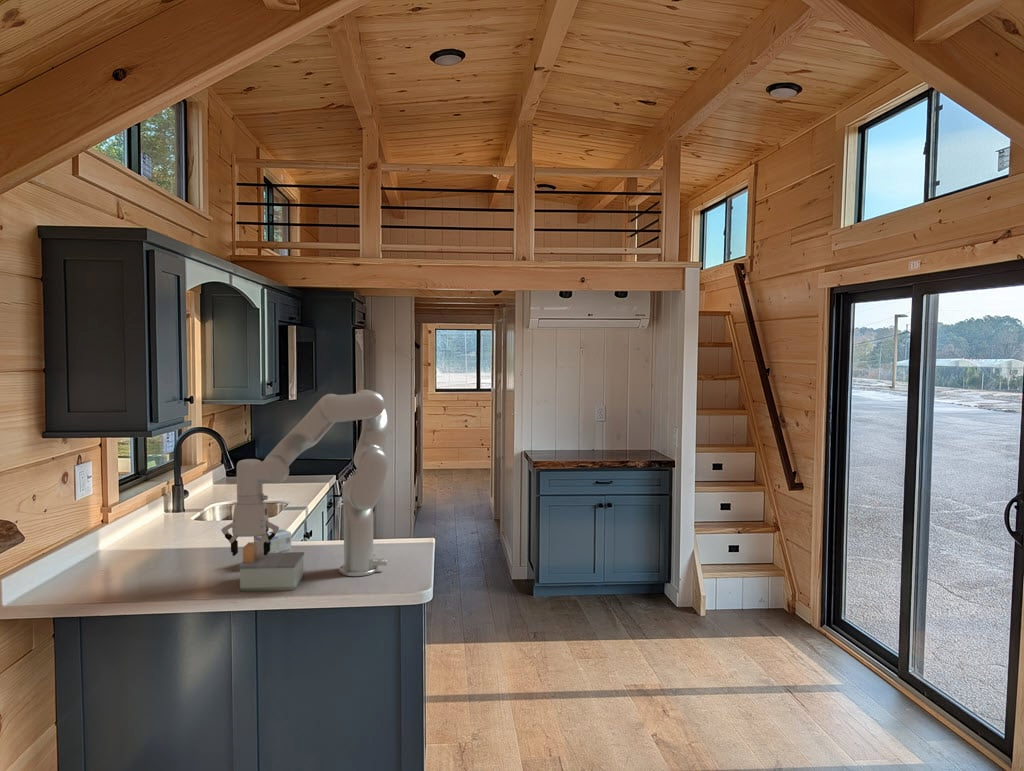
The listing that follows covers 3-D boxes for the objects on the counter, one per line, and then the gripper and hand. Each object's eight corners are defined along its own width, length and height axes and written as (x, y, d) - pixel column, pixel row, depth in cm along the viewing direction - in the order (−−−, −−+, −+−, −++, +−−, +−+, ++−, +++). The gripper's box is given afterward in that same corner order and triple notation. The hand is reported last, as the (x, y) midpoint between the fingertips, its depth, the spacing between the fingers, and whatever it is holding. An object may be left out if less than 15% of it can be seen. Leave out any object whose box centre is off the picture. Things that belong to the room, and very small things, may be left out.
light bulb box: (281, 558, 243) (281, 528, 242) (292, 562, 238) (292, 531, 238) (253, 566, 234) (252, 534, 234) (264, 570, 230) (263, 538, 229)
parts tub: (303, 578, 224) (303, 554, 224) (294, 592, 211) (294, 567, 211) (252, 579, 223) (252, 555, 222) (240, 594, 210) (239, 568, 209)
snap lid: (304, 557, 224) (304, 538, 224) (294, 571, 210) (294, 550, 210) (251, 558, 223) (251, 539, 222) (238, 572, 209) (238, 551, 209)
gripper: (281, 496, 219) (282, 550, 220) (225, 497, 218) (225, 551, 219) (275, 501, 212) (276, 557, 213) (217, 502, 210) (217, 558, 211)
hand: (250, 554), depth 216 cm, fingers open, 9 cm apart
